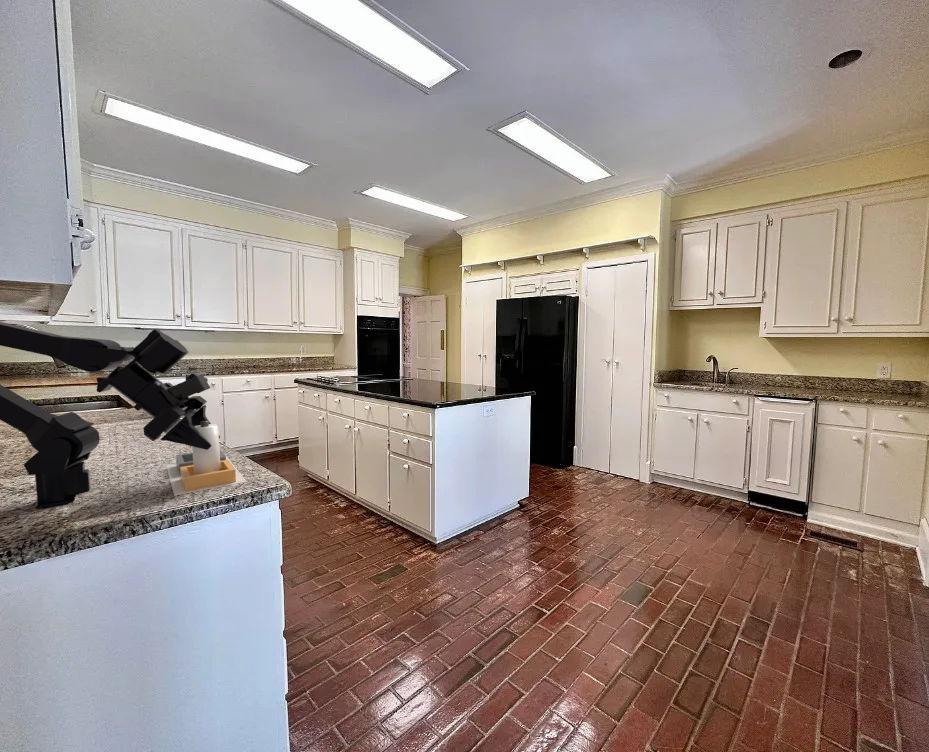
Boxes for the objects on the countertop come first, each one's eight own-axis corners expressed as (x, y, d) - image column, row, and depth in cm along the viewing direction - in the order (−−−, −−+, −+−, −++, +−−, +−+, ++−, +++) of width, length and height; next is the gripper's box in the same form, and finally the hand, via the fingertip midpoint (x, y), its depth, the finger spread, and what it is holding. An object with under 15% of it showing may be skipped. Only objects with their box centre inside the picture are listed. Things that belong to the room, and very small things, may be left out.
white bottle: (190, 484, 81) (186, 424, 80) (200, 477, 85) (196, 420, 84) (215, 482, 82) (212, 422, 81) (224, 475, 86) (221, 418, 85)
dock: (174, 500, 76) (173, 482, 75) (166, 470, 93) (165, 455, 92) (247, 486, 83) (246, 469, 83) (227, 460, 100) (226, 446, 100)
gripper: (161, 363, 71) (235, 422, 76) (193, 358, 89) (252, 407, 93) (108, 410, 69) (188, 468, 74) (152, 396, 87) (214, 443, 92)
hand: (214, 443), depth 83 cm, fingers open, 7 cm apart
